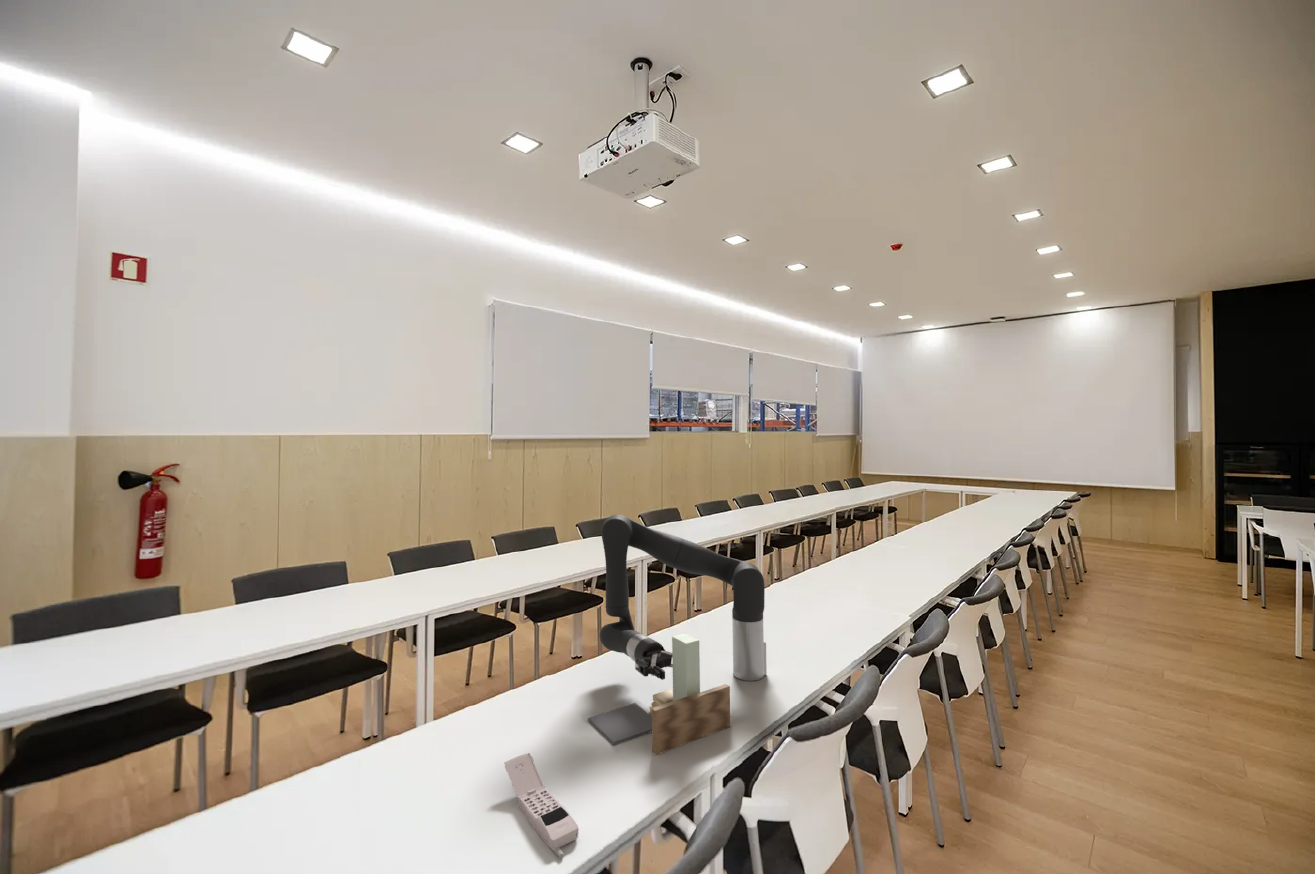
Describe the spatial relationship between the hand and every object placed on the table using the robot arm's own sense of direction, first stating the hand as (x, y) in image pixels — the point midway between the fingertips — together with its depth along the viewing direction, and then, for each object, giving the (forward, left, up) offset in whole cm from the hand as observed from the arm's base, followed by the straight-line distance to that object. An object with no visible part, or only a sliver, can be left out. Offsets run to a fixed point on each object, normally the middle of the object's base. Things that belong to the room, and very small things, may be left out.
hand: (678, 671), depth 141 cm
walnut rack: (+2, +5, -13) cm, 14 cm away
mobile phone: (+42, +14, -13) cm, 46 cm away
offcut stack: (0, -6, -13) cm, 14 cm away
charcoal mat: (+12, -7, -13) cm, 19 cm away
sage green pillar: (0, +3, -13) cm, 13 cm away
